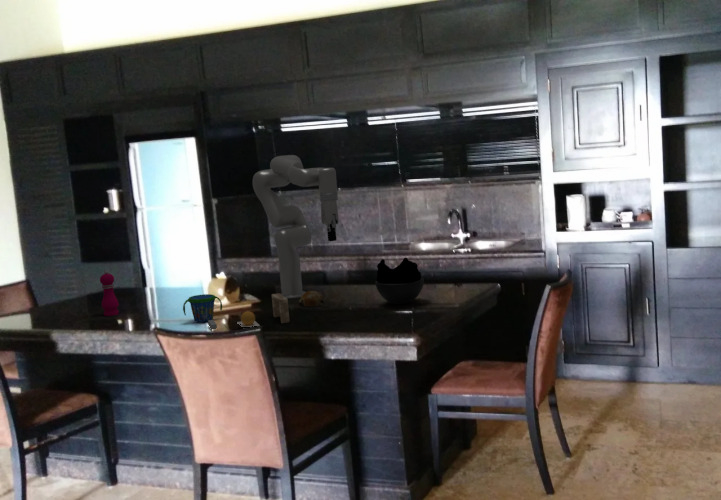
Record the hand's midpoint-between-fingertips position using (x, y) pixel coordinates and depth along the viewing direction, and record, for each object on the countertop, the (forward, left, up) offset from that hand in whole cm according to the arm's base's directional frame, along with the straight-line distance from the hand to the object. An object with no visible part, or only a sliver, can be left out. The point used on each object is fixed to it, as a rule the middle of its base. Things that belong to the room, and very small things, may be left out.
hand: (332, 240), depth 322 cm
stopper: (+13, -55, -27) cm, 63 cm away
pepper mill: (-46, -91, -27) cm, 106 cm away
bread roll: (-5, -10, -28) cm, 30 cm away
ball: (+16, -42, -24) cm, 51 cm away
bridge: (+14, -28, -27) cm, 41 cm away
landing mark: (+14, -44, -27) cm, 54 cm away
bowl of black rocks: (+18, +22, -27) cm, 39 cm away
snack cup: (-4, -56, -27) cm, 62 cm away
